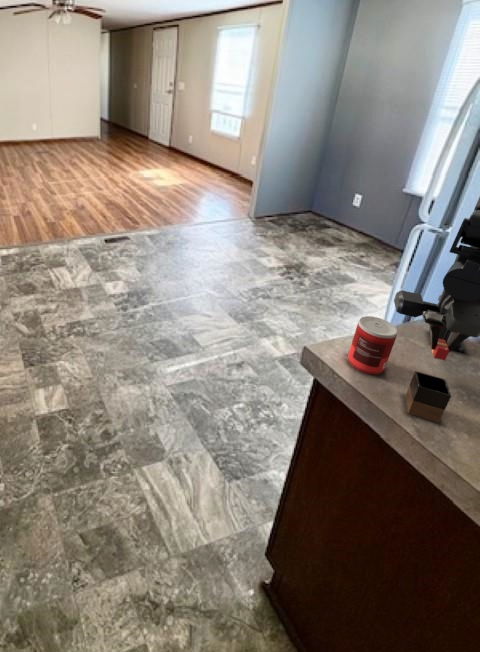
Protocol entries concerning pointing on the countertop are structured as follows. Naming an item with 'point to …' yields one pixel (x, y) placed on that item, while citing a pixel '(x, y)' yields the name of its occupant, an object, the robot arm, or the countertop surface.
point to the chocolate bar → (440, 350)
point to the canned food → (372, 344)
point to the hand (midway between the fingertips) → (439, 350)
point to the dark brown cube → (422, 409)
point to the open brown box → (430, 390)
